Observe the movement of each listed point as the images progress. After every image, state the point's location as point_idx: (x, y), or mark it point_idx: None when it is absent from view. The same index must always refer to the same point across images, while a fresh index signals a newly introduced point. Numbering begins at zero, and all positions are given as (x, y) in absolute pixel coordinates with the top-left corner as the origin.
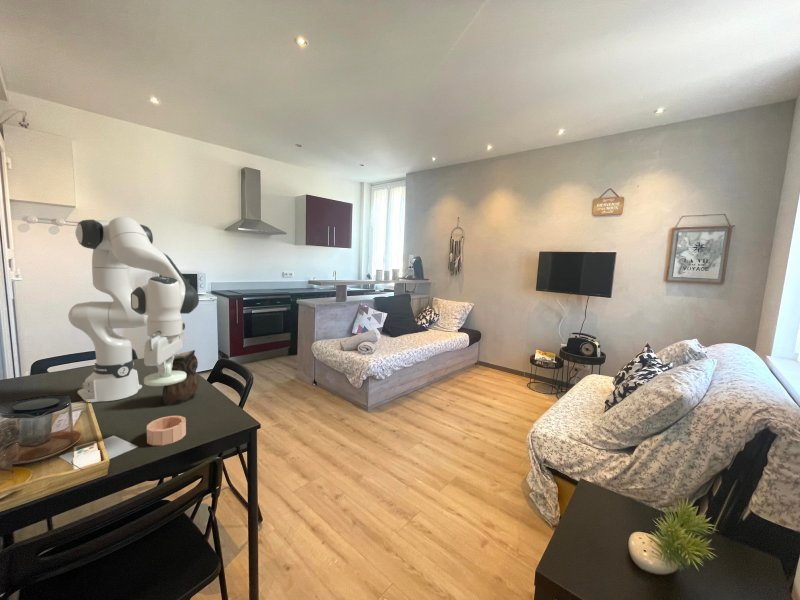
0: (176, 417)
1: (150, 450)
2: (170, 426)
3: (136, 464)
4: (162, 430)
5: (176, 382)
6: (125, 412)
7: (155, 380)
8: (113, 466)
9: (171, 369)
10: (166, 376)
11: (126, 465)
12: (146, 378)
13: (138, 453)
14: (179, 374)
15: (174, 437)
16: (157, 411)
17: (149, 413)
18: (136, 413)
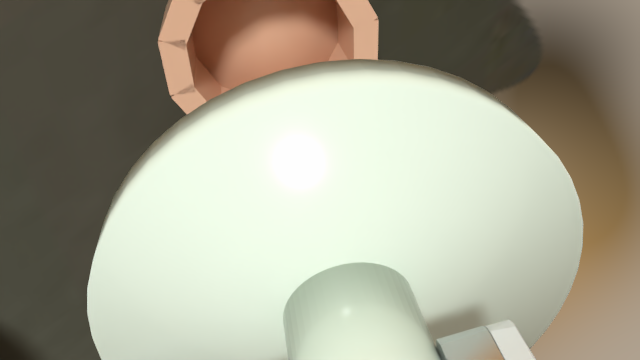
0: (185, 48)
1: (389, 24)
2: (195, 62)
3: (503, 4)
4: (368, 20)
5: (479, 90)
6: (69, 354)
7: (512, 306)
8: (501, 88)
9: (339, 351)
10: (408, 286)
11: (503, 42)
12: None
13: (412, 60)
14: (259, 211)
15: None
16: (5, 257)
17: (40, 272)
18: (62, 316)
